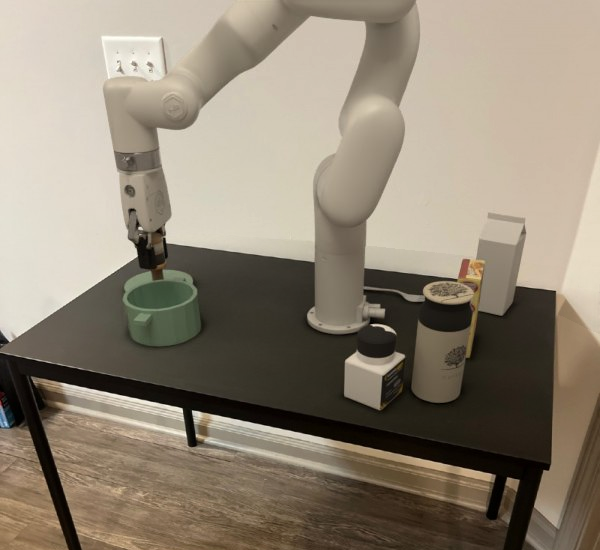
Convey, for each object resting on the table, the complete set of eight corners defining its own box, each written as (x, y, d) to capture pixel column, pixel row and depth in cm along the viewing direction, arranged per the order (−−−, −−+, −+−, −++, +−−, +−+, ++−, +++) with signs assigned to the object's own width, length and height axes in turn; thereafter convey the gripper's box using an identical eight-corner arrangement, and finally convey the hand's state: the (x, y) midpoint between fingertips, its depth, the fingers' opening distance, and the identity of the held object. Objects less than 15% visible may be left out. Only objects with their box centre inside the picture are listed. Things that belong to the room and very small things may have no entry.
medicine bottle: (380, 412, 96) (385, 346, 89) (343, 397, 100) (344, 332, 93) (402, 391, 101) (408, 327, 94) (366, 377, 104) (369, 315, 97)
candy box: (470, 359, 109) (483, 279, 100) (446, 356, 110) (457, 277, 101) (474, 336, 116) (486, 259, 107) (451, 333, 117) (462, 257, 108)
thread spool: (170, 262, 114) (166, 233, 111) (161, 271, 110) (156, 241, 107) (148, 260, 115) (143, 231, 112) (138, 269, 111) (133, 239, 108)
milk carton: (502, 316, 122) (520, 223, 111) (468, 309, 125) (482, 217, 114) (512, 303, 127) (530, 213, 116) (479, 296, 130) (493, 207, 119)
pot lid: (203, 277, 141) (200, 253, 138) (178, 305, 129) (174, 280, 125) (142, 272, 144) (138, 248, 140) (113, 299, 132) (107, 274, 128)
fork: (337, 281, 137) (337, 274, 136) (442, 301, 128) (443, 293, 127) (331, 286, 135) (331, 279, 134) (437, 307, 126) (438, 299, 125)
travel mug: (403, 381, 103) (413, 283, 93) (447, 374, 105) (461, 277, 94) (422, 407, 97) (434, 305, 86) (468, 400, 98) (485, 298, 88)
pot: (215, 310, 127) (211, 276, 122) (180, 357, 111) (175, 320, 107) (153, 304, 129) (147, 271, 125) (110, 349, 114) (102, 313, 109)
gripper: (137, 174, 94) (154, 283, 105) (178, 149, 108) (189, 248, 118) (93, 171, 96) (114, 279, 106) (139, 147, 109) (154, 245, 120)
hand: (154, 262), depth 112 cm, fingers closed on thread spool, 4 cm apart
